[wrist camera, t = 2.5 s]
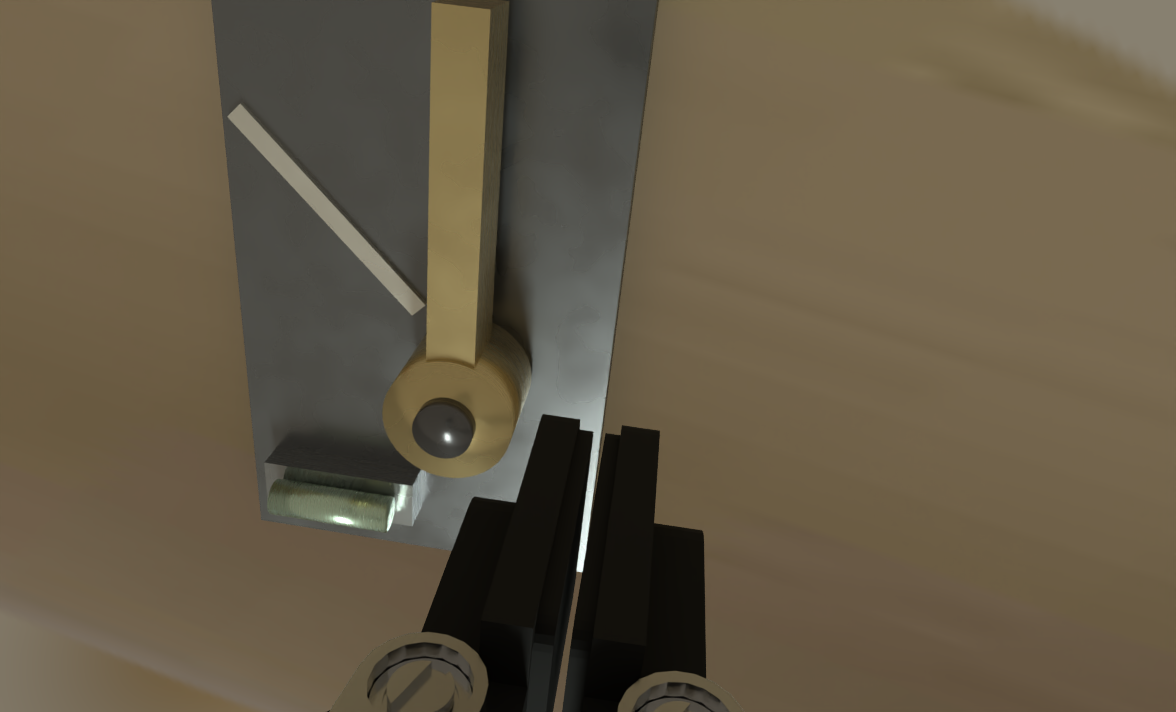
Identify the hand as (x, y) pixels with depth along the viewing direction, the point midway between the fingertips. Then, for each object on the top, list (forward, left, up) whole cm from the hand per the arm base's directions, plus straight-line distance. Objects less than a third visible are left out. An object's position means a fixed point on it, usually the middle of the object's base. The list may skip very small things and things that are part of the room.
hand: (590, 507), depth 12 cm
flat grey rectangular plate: (+8, +6, -19) cm, 22 cm away
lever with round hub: (+6, +3, -18) cm, 19 cm away
